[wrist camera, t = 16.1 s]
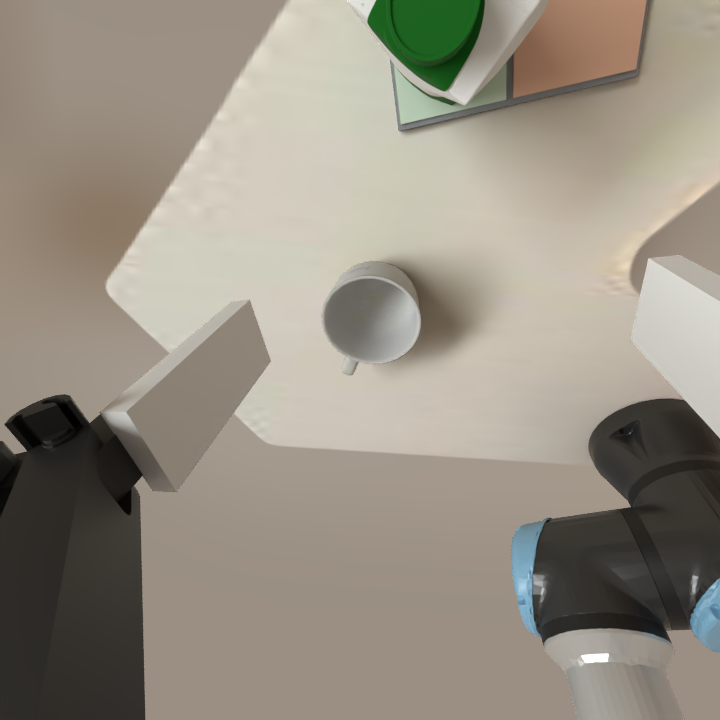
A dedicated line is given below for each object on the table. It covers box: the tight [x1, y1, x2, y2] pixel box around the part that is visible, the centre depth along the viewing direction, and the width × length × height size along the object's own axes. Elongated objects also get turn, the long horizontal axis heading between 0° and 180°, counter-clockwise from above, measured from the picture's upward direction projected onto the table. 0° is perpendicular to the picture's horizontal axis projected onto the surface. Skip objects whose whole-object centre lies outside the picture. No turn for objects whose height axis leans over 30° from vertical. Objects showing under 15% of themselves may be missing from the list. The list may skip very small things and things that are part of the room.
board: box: [390, 0, 649, 131], centre depth 30 cm, size 12×20×1 cm, turn 101°
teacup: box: [322, 261, 421, 375], centre depth 43 cm, size 14×11×8 cm
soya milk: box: [347, 0, 548, 106], centre depth 22 cm, size 9×9×20 cm
